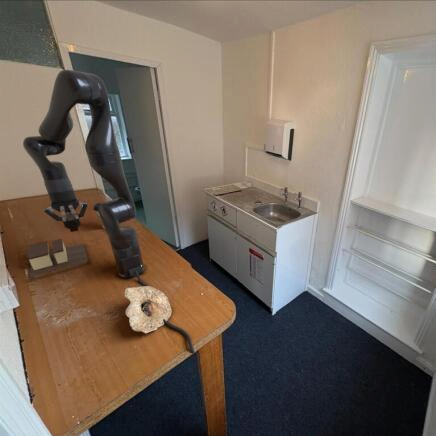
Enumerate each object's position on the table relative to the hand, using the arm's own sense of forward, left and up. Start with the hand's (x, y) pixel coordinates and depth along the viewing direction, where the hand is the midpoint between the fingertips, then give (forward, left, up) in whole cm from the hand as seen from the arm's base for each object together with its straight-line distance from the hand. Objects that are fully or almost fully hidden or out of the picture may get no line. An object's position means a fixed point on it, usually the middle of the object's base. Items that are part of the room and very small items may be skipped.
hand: (73, 227), depth 99 cm
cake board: (+6, +8, -17) cm, 20 cm away
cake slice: (+7, +7, -16) cm, 18 cm away
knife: (+6, 0, 0) cm, 6 cm away
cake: (+7, +13, -16) cm, 22 cm away
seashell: (-52, -13, -17) cm, 57 cm away
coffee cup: (+29, -14, -17) cm, 36 cm away
